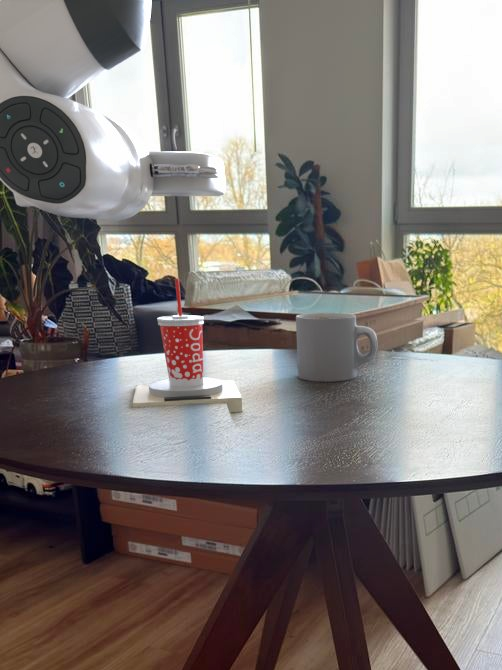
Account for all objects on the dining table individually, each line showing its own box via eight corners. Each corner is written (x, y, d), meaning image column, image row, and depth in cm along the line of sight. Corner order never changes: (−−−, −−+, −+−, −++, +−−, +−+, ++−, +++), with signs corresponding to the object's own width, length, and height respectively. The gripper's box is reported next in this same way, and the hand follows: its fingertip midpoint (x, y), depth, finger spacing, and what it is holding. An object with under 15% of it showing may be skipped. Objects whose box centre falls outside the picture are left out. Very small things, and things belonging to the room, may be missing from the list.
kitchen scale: (134, 418, 94) (131, 395, 93) (137, 398, 106) (135, 378, 105) (242, 411, 98) (241, 389, 97) (234, 393, 109) (233, 373, 108)
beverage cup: (177, 389, 97) (166, 280, 92) (156, 383, 101) (144, 278, 96) (217, 383, 100) (209, 278, 96) (195, 378, 105) (185, 276, 100)
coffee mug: (290, 380, 119) (287, 318, 116) (309, 370, 128) (307, 312, 125) (368, 383, 117) (367, 320, 113) (382, 373, 126) (382, 314, 122)
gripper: (211, 132, 67) (233, 150, 80) (-14, 131, 66) (45, 149, 79) (217, 206, 69) (237, 211, 82) (-1, 206, 68) (54, 211, 81)
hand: (141, 181), depth 81 cm, fingers open, 8 cm apart
